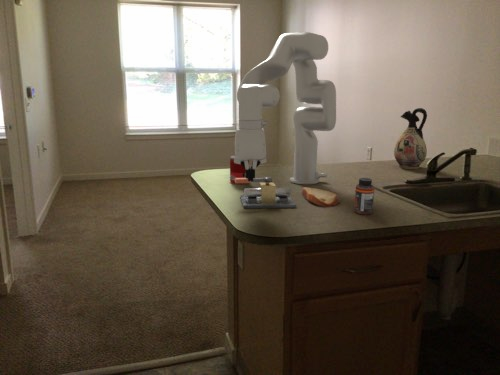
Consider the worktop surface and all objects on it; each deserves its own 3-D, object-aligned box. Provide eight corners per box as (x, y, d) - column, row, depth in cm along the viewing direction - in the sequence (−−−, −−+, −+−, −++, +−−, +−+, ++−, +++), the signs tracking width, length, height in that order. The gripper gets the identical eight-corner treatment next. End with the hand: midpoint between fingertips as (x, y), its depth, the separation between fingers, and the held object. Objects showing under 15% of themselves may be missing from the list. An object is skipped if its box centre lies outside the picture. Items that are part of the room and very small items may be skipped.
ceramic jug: (388, 168, 223) (394, 107, 216) (397, 163, 235) (403, 106, 228) (423, 172, 214) (430, 109, 207) (431, 167, 226) (438, 107, 219)
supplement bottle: (351, 209, 150) (353, 177, 147) (368, 209, 150) (371, 176, 148) (357, 215, 144) (359, 181, 141) (375, 214, 145) (377, 180, 142)
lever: (270, 180, 158) (270, 176, 157) (273, 182, 154) (273, 178, 154) (234, 181, 155) (234, 177, 154) (236, 183, 152) (236, 179, 151)
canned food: (246, 185, 183) (247, 158, 181) (227, 183, 185) (228, 157, 182) (250, 181, 190) (250, 155, 188) (232, 179, 192) (232, 154, 189)
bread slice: (305, 191, 176) (305, 182, 175) (349, 198, 166) (350, 188, 165) (284, 201, 161) (284, 191, 160) (330, 209, 151) (331, 198, 151)
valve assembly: (288, 196, 165) (288, 176, 163) (296, 207, 152) (297, 185, 150) (239, 197, 163) (240, 177, 161) (243, 208, 150) (243, 186, 148)
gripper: (271, 123, 147) (270, 177, 152) (226, 124, 146) (227, 178, 151) (275, 126, 140) (274, 182, 145) (227, 126, 139) (228, 183, 143)
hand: (250, 180), depth 148 cm, fingers closed
